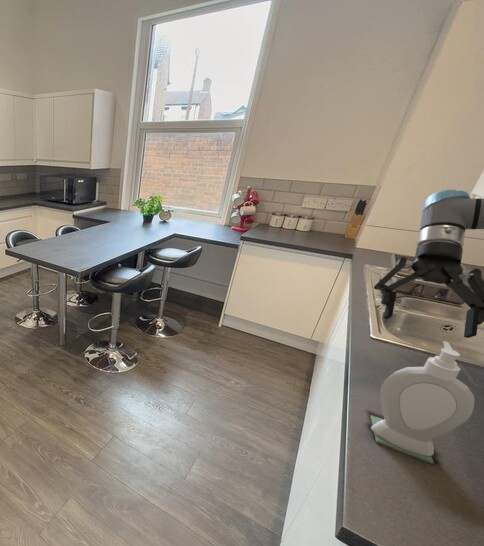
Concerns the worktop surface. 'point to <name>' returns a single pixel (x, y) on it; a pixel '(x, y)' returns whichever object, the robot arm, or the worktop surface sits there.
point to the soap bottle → (424, 403)
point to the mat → (388, 444)
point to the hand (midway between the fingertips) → (426, 326)
